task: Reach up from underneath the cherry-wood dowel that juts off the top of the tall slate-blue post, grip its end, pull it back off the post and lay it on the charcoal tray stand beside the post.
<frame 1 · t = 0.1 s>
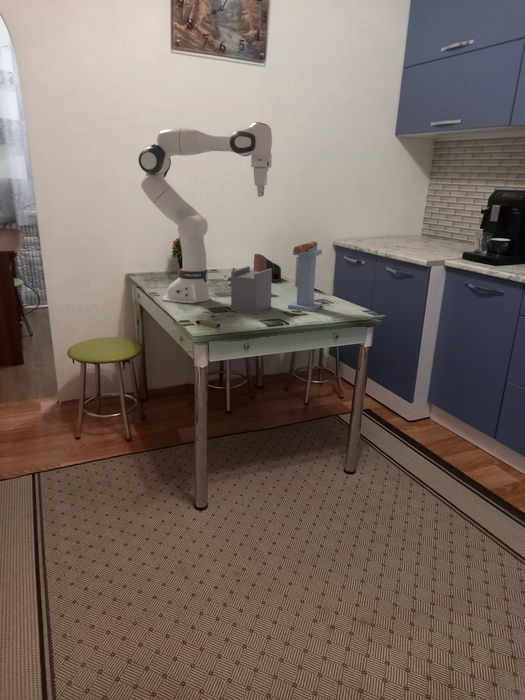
hand: (260, 196, 225), 48 cm above the table, tool pointing down, fingers open, 8 cm apart
shelf post: (305, 307, 232), on the table
passion flower: (236, 285, 275), on the table
letter holder: (266, 278, 297), on the table
dowel: (305, 247, 220), point 27 cm above the table, touching shelf post
tray stand: (251, 308, 226), on the table
flask: (301, 288, 272), on the table
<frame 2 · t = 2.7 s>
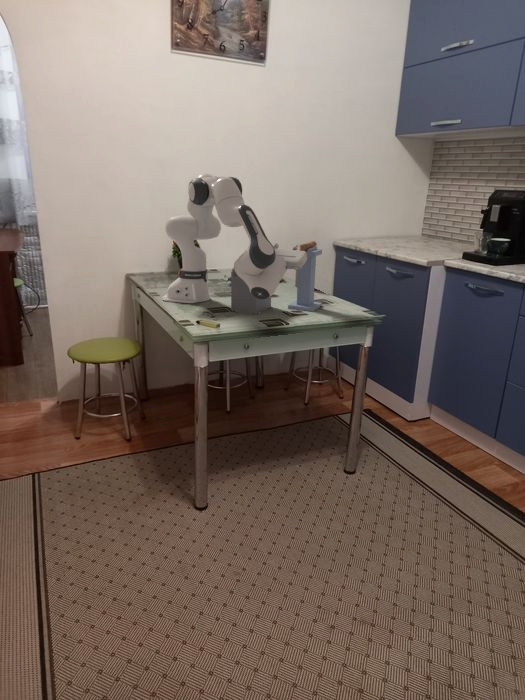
hand: (287, 245, 201), 30 cm above the table, tool pointing upward, fingers open, 8 cm apart
dowel: (305, 247, 221), point 27 cm above the table, tilted 15°, touching shelf post
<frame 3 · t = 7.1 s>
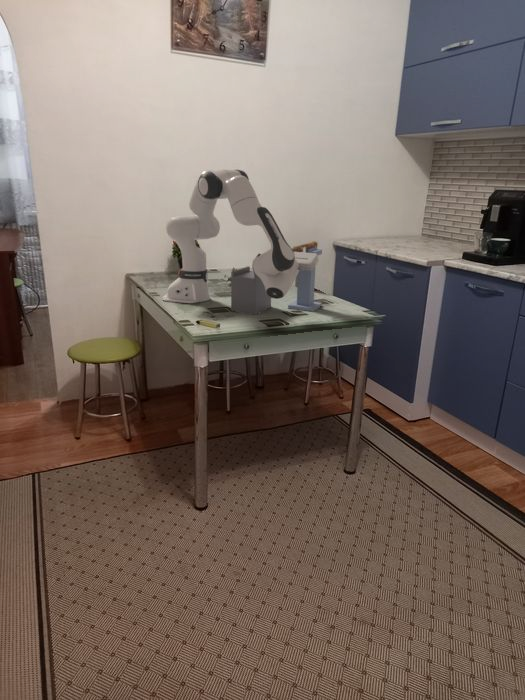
hand: (299, 248, 214), 28 cm above the table, tool pointing upward, fingers closed on dowel, 3 cm apart
dowel: (305, 247, 220), point 27 cm above the table, touching gripper, shelf post
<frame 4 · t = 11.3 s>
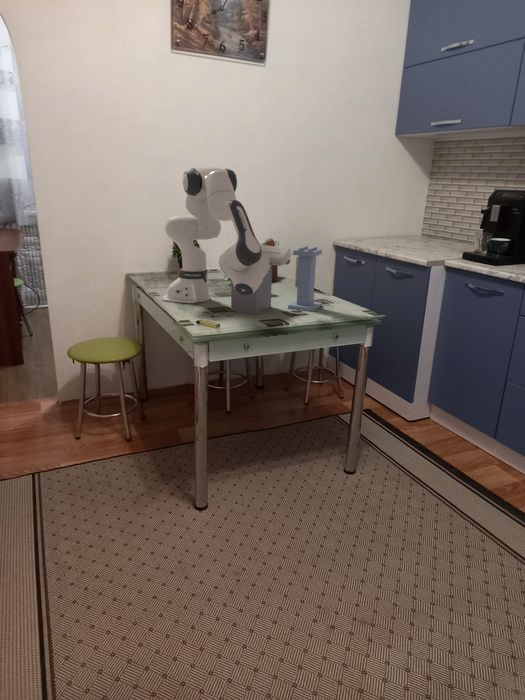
hand: (272, 241, 203), 32 cm above the table, tool pointing upward, fingers closed on dowel, 3 cm apart
dowel: (278, 252, 210), point 27 cm above the table, tilted 28°, touching gripper
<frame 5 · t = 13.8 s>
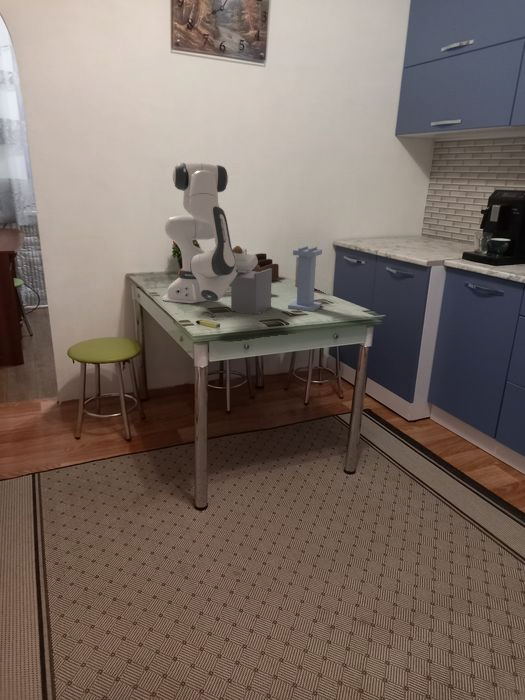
hand: (240, 249, 208), 28 cm above the table, tool pointing upward, fingers closed on dowel, 3 cm apart
dowel: (247, 259, 215), point 23 cm above the table, tilted 29°, touching gripper
when the fingers open (20 cm above the table, at t = 15.7 s): dowel drops 1 cm, resting on tray stand.
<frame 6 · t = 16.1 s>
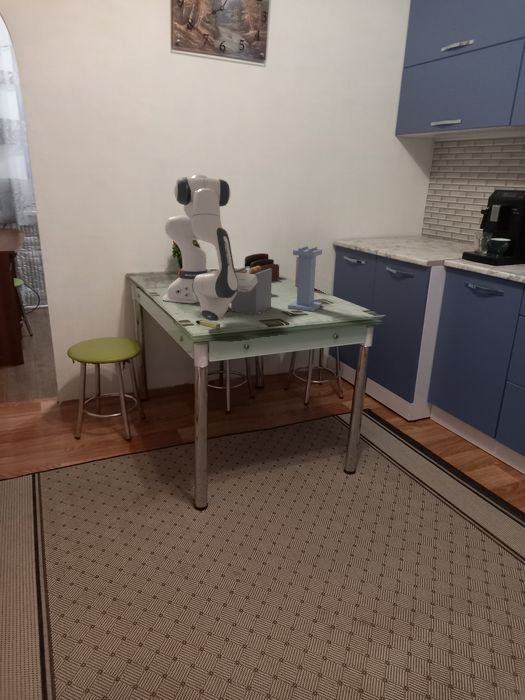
hand: (240, 268, 210), 20 cm above the table, tool pointing upward, fingers open, 7 cm apart
dowel: (247, 272, 217), point 17 cm above the table, tilted 5°, touching tray stand
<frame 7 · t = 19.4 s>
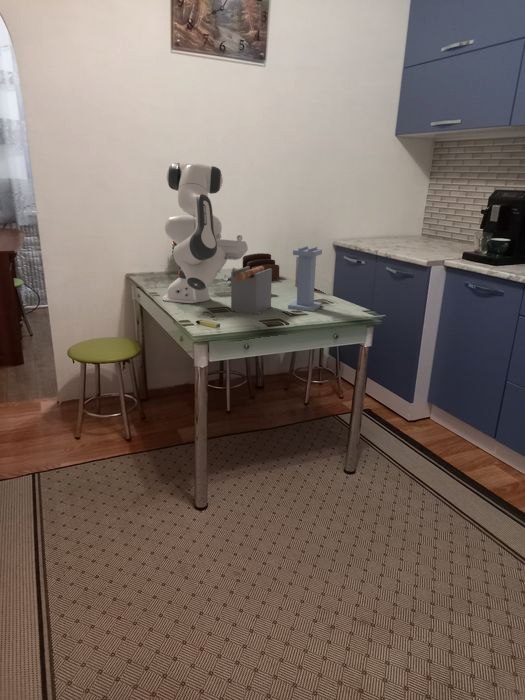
hand: (229, 235, 198), 34 cm above the table, tool pointing upward, fingers open, 8 cm apart
dowel: (250, 273, 216), point 17 cm above the table, tilted 57°, touching tray stand
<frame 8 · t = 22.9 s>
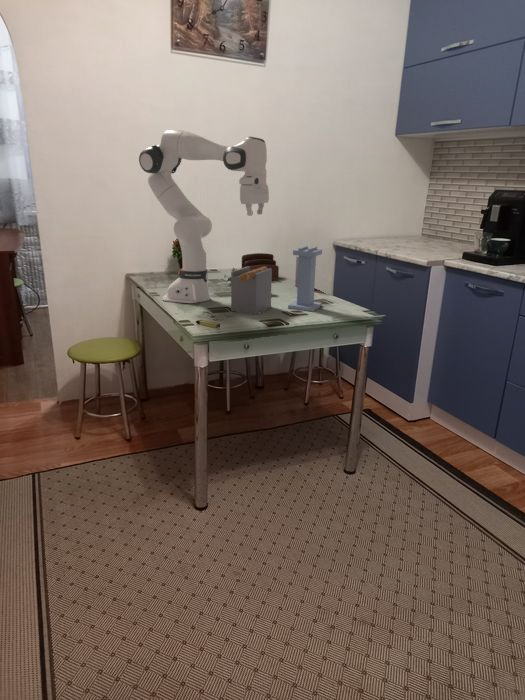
hand: (254, 215, 210), 41 cm above the table, tool pointing down, fingers open, 8 cm apart
dowel: (254, 273, 216), point 17 cm above the table, tilted 131°, touching tray stand
at the end: dowel inside the target area on the tray stand (4.0 cm from its centre), point 17.0 cm above the tray stand's base; dowel touching tray stand; the gripper is holding nothing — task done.
